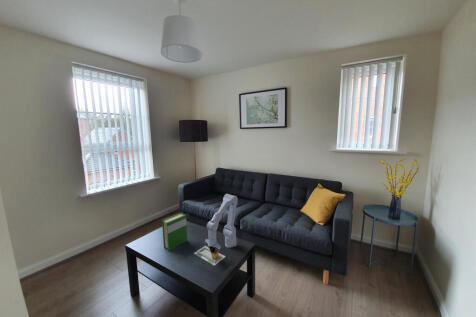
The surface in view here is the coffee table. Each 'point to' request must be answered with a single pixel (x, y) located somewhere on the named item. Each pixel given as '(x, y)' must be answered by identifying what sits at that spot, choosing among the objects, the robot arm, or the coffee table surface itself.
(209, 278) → the coffee table surface
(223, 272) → the coffee table surface
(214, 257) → the lever
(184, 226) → the hardback book
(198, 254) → the white flat tray
